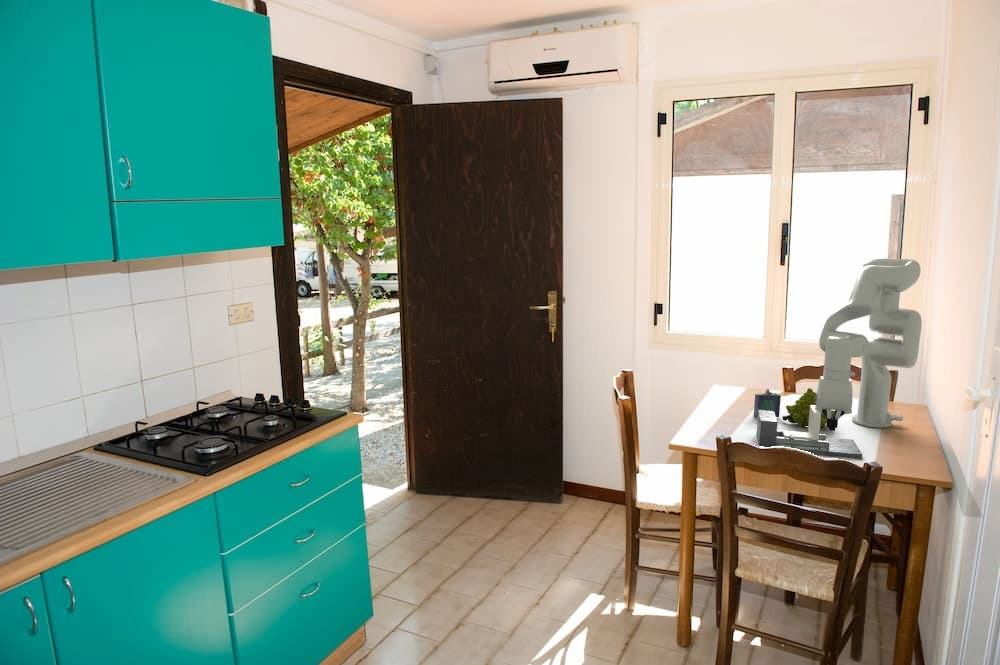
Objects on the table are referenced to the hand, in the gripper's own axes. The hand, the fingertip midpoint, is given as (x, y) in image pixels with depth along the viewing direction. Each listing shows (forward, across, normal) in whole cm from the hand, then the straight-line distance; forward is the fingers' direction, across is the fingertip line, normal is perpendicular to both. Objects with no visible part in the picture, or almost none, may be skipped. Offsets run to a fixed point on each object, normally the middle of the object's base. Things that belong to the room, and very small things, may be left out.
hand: (831, 429), depth 213 cm
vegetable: (+7, +3, -23) cm, 24 cm away
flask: (+7, +17, -30) cm, 35 cm away
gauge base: (+6, +7, 0) cm, 10 cm away
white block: (+5, +9, +1) cm, 10 cm away
